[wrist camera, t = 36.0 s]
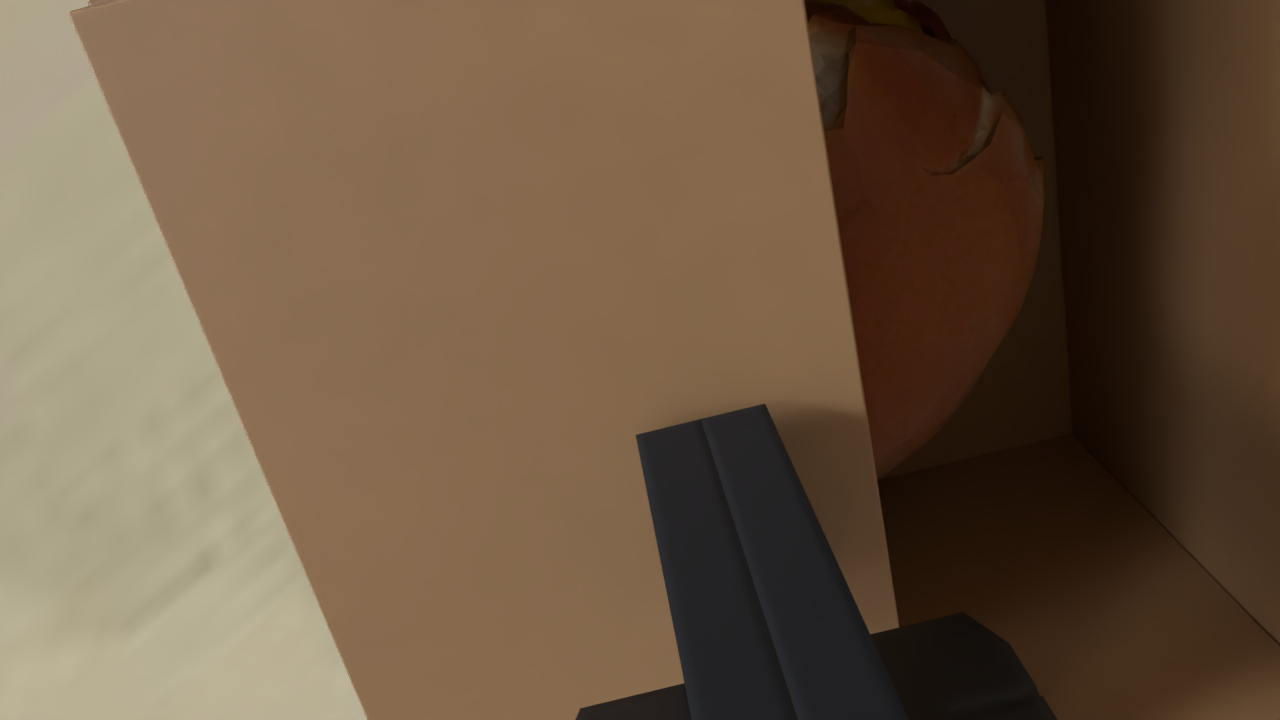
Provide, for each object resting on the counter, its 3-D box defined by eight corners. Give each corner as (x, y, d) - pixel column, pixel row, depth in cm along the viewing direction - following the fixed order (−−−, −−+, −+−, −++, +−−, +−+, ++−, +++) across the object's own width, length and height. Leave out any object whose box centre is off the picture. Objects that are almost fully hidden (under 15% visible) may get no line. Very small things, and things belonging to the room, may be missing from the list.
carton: (1084, 435, 25) (1375, 725, 17) (492, 579, 25) (476, 943, 17) (1044, -241, 20) (1459, -335, 11) (279, -54, 20) (83, 1, 11)
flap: (931, 861, 16) (938, 877, 16) (479, 964, 16) (477, 983, 16) (774, -162, 10) (780, -162, 10) (79, 9, 11) (66, 12, 10)
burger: (574, 483, 24) (586, 613, 20) (417, 64, 20) (390, 112, 16) (1011, 347, 24) (1120, 449, 19) (936, -103, 20) (1050, -100, 16)
